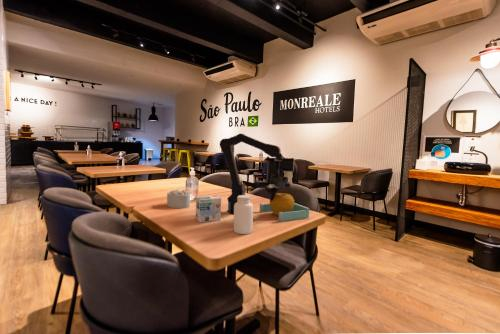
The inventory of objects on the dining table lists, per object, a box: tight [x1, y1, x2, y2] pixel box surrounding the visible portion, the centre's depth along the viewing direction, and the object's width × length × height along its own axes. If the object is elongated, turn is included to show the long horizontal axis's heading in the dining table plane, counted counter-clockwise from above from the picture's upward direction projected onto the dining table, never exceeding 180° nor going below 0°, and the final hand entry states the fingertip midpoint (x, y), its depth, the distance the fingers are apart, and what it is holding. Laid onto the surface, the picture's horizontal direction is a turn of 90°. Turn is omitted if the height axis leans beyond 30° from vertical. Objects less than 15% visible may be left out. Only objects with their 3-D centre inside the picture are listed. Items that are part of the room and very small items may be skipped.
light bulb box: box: [195, 195, 222, 223], centre depth 125 cm, size 11×7×11 cm, turn 117°
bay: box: [259, 202, 310, 223], centre depth 138 cm, size 18×20×5 cm
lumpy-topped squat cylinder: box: [166, 189, 191, 209], centre depth 148 cm, size 10×13×9 cm
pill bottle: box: [233, 194, 254, 235], centre depth 110 cm, size 8×8×15 cm
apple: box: [269, 192, 295, 217], centre depth 138 cm, size 13×13×11 cm
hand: (271, 200), depth 134 cm, fingers closed
